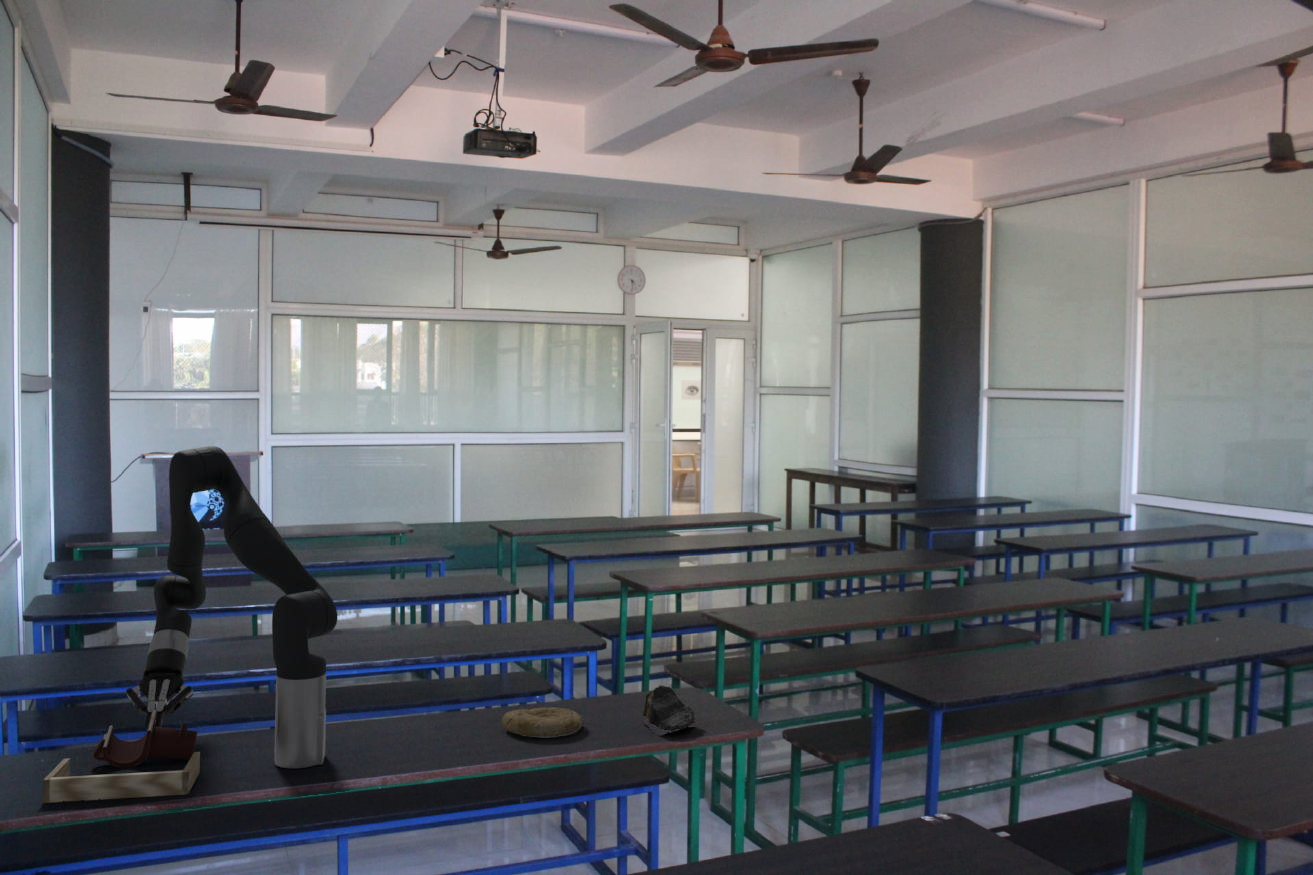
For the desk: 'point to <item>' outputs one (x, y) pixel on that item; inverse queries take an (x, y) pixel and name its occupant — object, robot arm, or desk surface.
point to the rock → (667, 709)
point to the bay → (118, 783)
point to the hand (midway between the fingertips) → (152, 731)
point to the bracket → (147, 745)
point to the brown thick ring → (542, 721)
